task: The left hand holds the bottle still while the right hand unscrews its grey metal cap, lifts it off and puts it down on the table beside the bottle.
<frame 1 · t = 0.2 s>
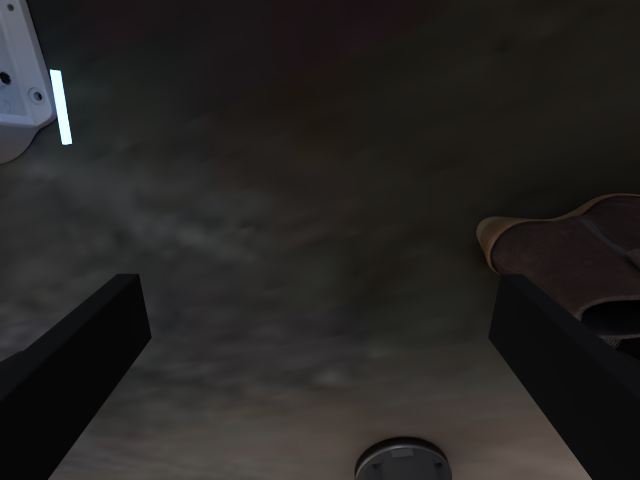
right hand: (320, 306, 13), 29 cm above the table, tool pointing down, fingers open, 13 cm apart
boot: (561, 228, 42), on the table
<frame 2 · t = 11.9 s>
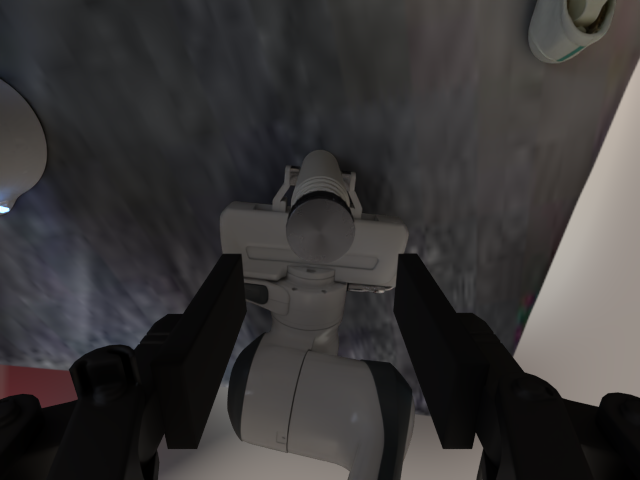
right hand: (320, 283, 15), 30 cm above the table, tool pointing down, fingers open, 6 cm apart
left hand: (320, 169, 36), fingers closed on bottle, 4 cm apart
cap: (320, 230, 21), point 23 cm above the table, screwed on, not yet turned
bottle: (320, 168, 42), on the table, touching left hand
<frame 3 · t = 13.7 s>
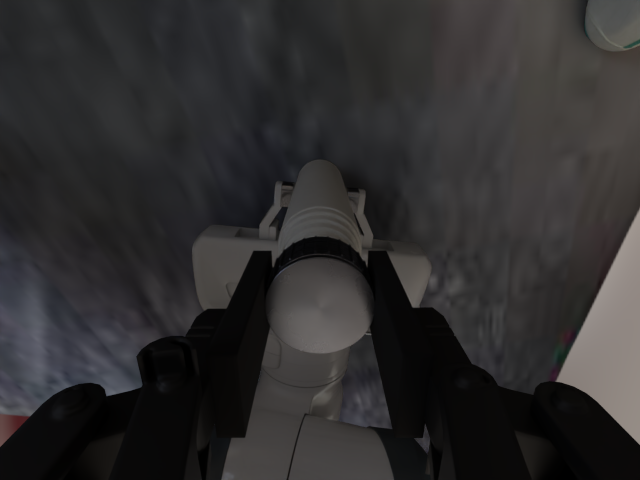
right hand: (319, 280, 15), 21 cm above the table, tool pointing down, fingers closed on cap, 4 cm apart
cap: (319, 304, 13), point 23 cm above the table, screwed on, not yet turned, touching right hand
bottle: (319, 182, 34), on the table, touching left hand
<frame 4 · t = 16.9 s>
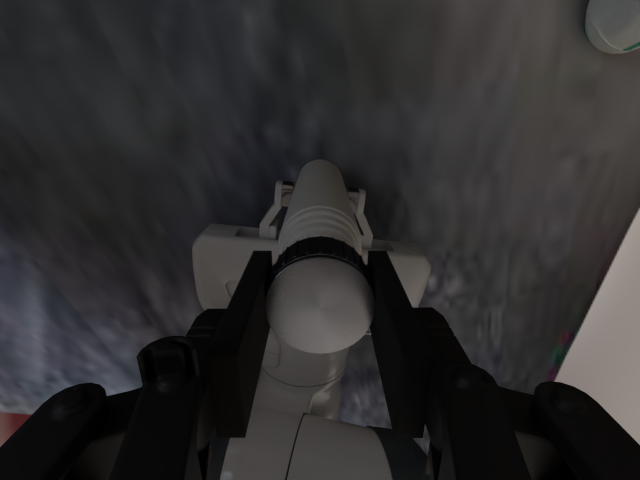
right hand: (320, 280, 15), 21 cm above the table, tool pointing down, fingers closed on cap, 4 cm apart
cap: (320, 304, 13), point 23 cm above the table, turned 89° so far, risen 0.1 cm, still on its thread, touching right hand
bottle: (319, 182, 34), on the table, touching left hand
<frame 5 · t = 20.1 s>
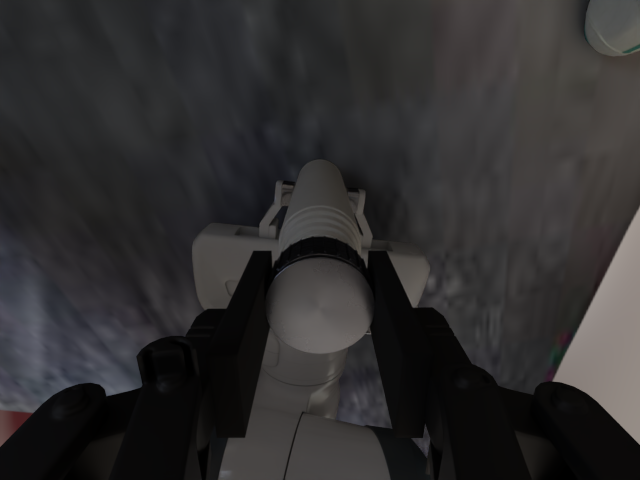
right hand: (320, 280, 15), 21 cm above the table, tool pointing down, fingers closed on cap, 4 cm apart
cap: (319, 304, 13), point 23 cm above the table, turned 178° so far, risen 0.2 cm, still on its thread, touching right hand
bottle: (319, 181, 35), on the table, touching left hand
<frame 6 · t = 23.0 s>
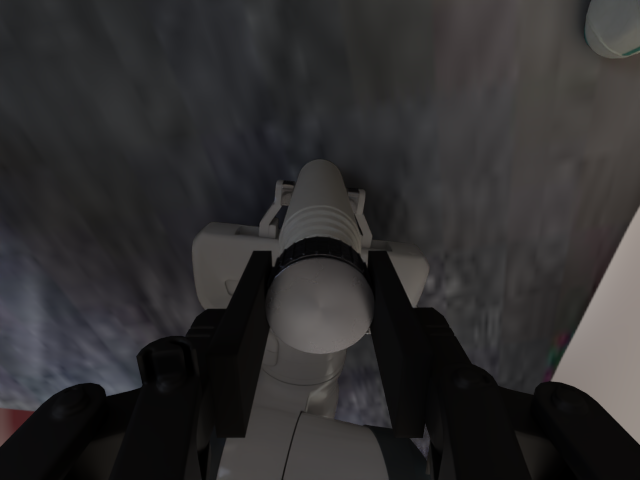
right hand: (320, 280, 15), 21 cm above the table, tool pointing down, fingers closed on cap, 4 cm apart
cap: (319, 304, 13), point 23 cm above the table, turned 267° so far, risen 0.2 cm, still on its thread, touching right hand
bottle: (319, 181, 35), on the table, touching left hand
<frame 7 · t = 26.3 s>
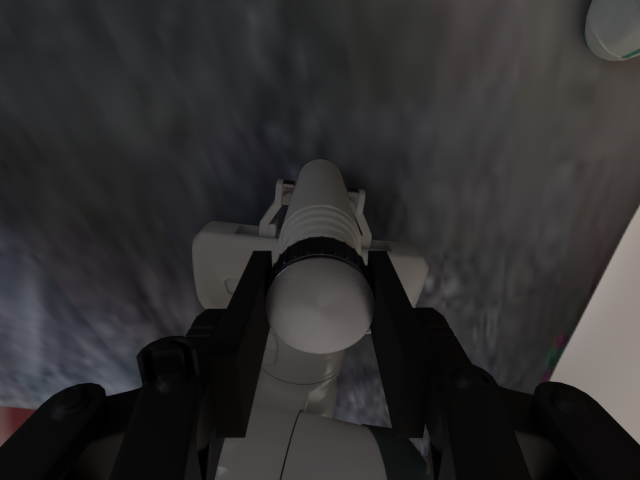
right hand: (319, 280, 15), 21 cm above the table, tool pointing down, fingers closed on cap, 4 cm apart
cap: (320, 304, 13), point 23 cm above the table, turned 355° so far, risen 0.3 cm, still on its thread, touching right hand
bottle: (320, 181, 35), on the table, touching left hand
when the right hand's fingers open (1 cm above the table, at t = 36.0 s): cap drops 1 cm, point 2 cm above the table.
when the left hand's fingers open (6 cm above the table, at t = 37.2 s): bottle stays where it is, on the table.
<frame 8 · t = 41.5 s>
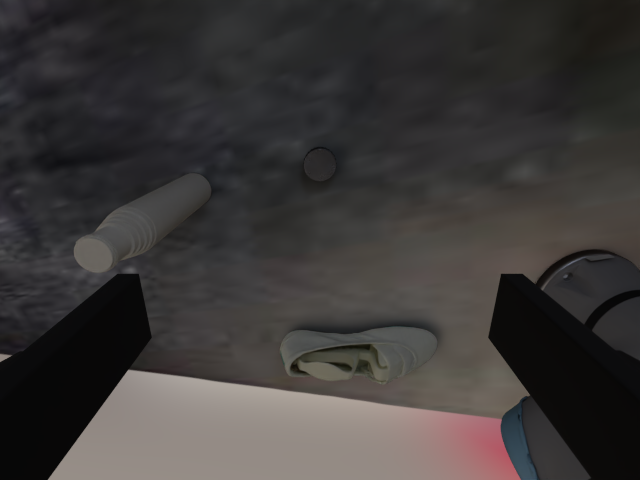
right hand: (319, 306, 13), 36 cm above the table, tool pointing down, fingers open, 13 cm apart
cap: (320, 164, 44), point 2 cm above the table, off its thread
bottle: (195, 189, 47), on the table
ballet flat: (357, 342, 56), on the table
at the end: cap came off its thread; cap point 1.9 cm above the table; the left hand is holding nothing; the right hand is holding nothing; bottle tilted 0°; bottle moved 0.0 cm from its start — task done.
